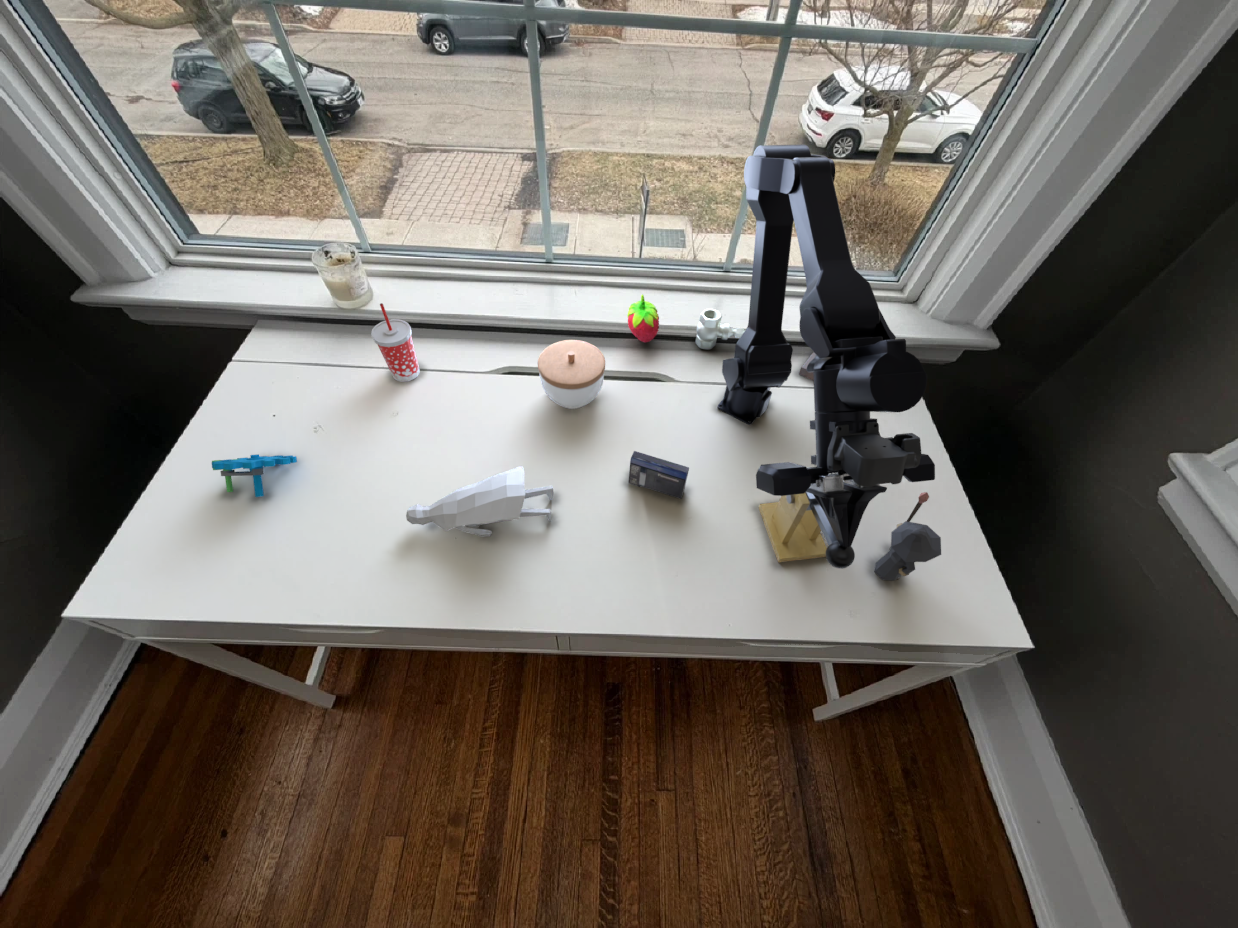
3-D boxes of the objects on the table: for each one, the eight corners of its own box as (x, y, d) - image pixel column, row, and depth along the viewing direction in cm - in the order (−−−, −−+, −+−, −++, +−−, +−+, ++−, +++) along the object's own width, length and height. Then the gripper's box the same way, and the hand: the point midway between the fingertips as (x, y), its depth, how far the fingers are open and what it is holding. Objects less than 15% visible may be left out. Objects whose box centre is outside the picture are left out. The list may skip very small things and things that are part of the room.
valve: (693, 353, 100) (758, 361, 100) (698, 324, 95) (767, 332, 94) (695, 331, 104) (758, 338, 104) (700, 301, 99) (766, 309, 98)
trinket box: (616, 390, 94) (618, 347, 86) (580, 428, 88) (579, 386, 81) (565, 366, 97) (563, 322, 90) (528, 401, 91) (522, 358, 84)
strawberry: (626, 354, 100) (628, 308, 92) (625, 328, 104) (628, 282, 96) (657, 355, 100) (663, 309, 92) (655, 329, 104) (660, 283, 96)
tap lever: (853, 572, 65) (863, 557, 62) (828, 575, 64) (837, 560, 62) (814, 494, 73) (822, 478, 70) (791, 496, 72) (798, 480, 70)
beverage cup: (419, 385, 93) (396, 317, 82) (383, 384, 93) (354, 315, 82) (428, 361, 97) (406, 293, 86) (393, 360, 97) (367, 291, 86)
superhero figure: (550, 484, 82) (410, 491, 78) (553, 445, 75) (398, 451, 71) (557, 544, 76) (405, 556, 72) (560, 508, 69) (392, 519, 65)
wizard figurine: (915, 591, 72) (963, 546, 63) (874, 593, 72) (917, 548, 63) (891, 537, 78) (932, 487, 68) (853, 538, 77) (889, 489, 68)
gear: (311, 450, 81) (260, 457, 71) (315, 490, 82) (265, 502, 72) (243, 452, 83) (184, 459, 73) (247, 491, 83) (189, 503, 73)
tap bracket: (826, 557, 75) (855, 514, 67) (777, 563, 74) (801, 520, 66) (803, 503, 81) (828, 457, 72) (757, 508, 80) (777, 462, 71)
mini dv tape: (628, 483, 82) (630, 458, 77) (631, 475, 83) (633, 450, 78) (680, 500, 80) (686, 475, 75) (683, 492, 81) (689, 467, 76)
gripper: (794, 420, 52) (800, 578, 54) (973, 404, 54) (972, 557, 56) (751, 416, 63) (757, 548, 65) (901, 404, 65) (903, 531, 67)
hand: (845, 546), depth 63 cm, fingers closed, pressing on tap lever
